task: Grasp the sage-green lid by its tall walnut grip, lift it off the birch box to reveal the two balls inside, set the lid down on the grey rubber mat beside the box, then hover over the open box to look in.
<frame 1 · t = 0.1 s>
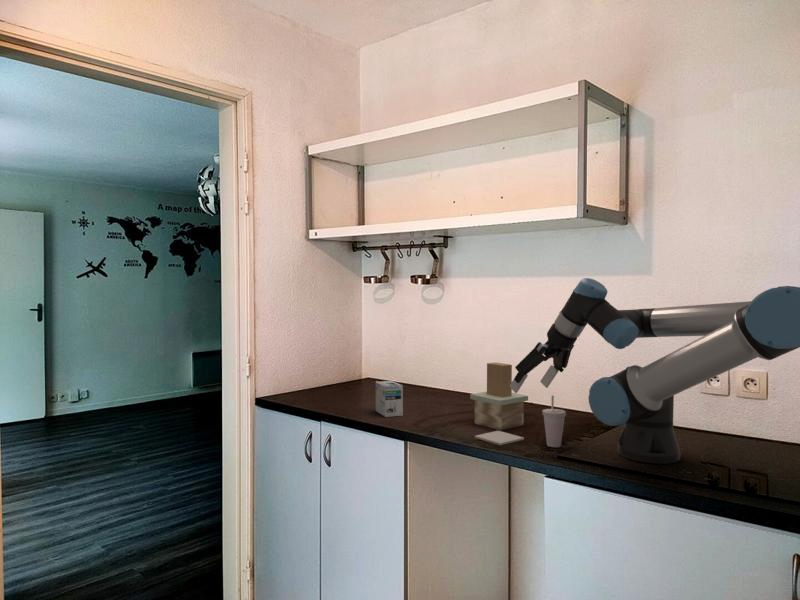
hand: (528, 387, 163), 15 cm above the counter, tool tilted 35°, fingers open, 13 cm apart
smoothie: (553, 446, 158), on the counter
light bulb box: (388, 414, 197), on the counter
lid: (499, 399, 182), point 8 cm above the counter, touching box
box: (498, 424, 182), on the counter
mat: (499, 438, 165), on the counter
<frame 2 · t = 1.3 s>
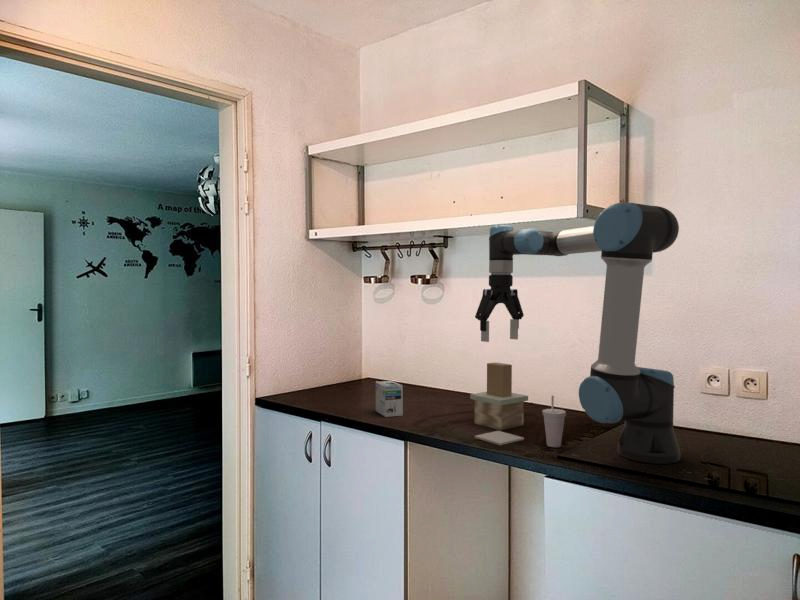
hand: (499, 340, 181), 27 cm above the counter, tool pointing down, fingers open, 13 cm apart
nothing on the counter moved.
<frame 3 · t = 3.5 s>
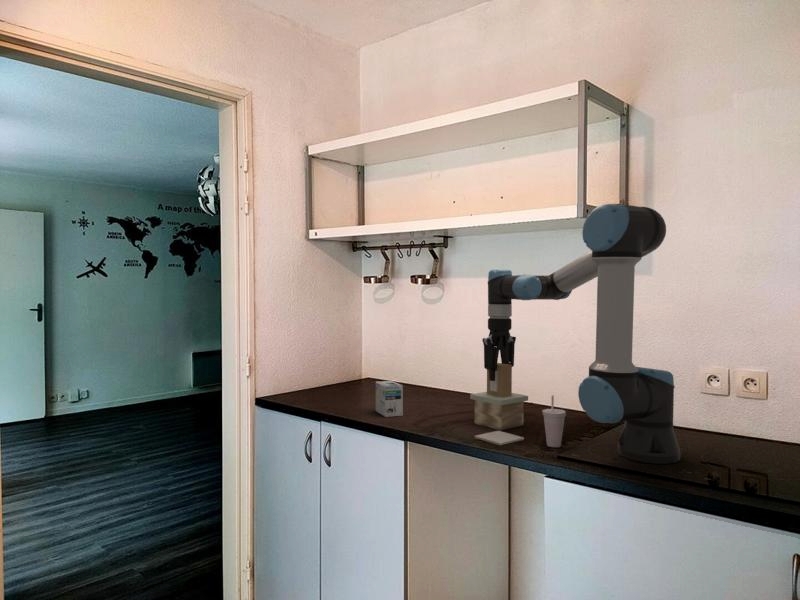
hand: (499, 389, 182), 11 cm above the counter, tool pointing down, fingers closed on lid, 4 cm apart
lid: (499, 399, 182), point 8 cm above the counter, touching box, gripper
everything else where it was.
when the fingers open (6 cm above the counter, at t = 9.2 s): lid drops 2 cm, resting on mat.
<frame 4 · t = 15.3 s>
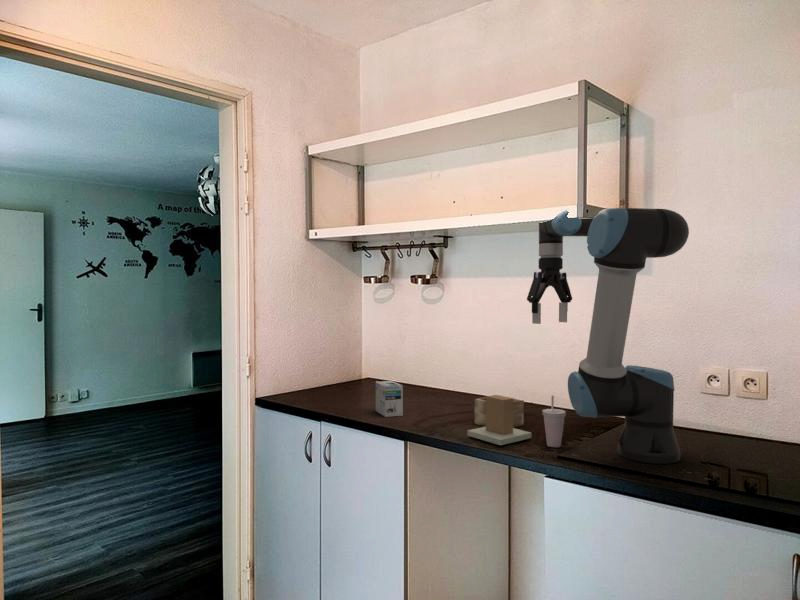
hand: (549, 323, 183), 33 cm above the counter, tool pointing down, fingers open, 13 cm apart
lid: (499, 436, 165), point 1 cm above the counter, touching mat
everything else where it was.
at the end: lid inside the target area (0.0 cm from its centre), point 0.6 cm above the counter; lid touching mat; lid tilted 0° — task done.
